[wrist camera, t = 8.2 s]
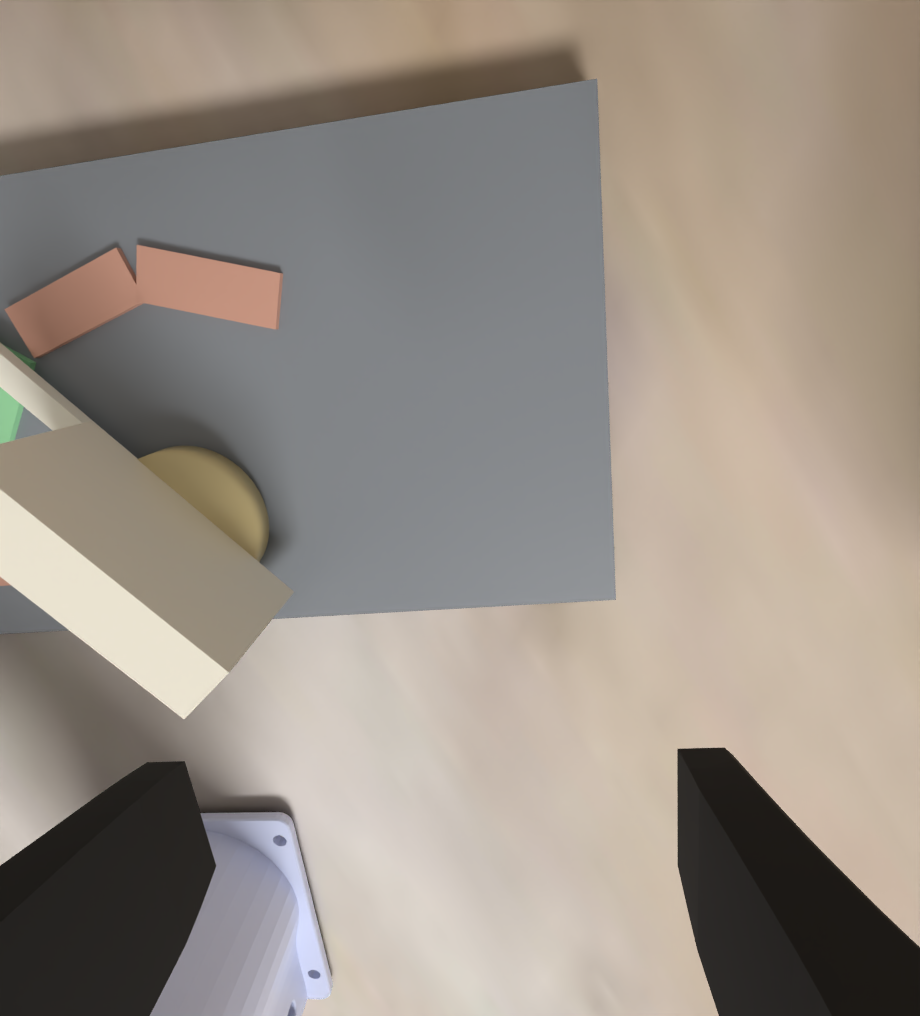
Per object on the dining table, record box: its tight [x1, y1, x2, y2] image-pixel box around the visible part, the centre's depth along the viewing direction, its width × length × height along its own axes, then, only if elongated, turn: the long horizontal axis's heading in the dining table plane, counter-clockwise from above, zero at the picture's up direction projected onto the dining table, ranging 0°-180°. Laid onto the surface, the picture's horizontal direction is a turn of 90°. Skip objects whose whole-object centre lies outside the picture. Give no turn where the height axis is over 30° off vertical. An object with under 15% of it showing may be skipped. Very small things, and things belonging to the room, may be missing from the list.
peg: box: [0, 343, 294, 719], centre depth 15 cm, size 12×4×5 cm, turn 47°
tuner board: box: [0, 79, 616, 634], centre depth 17 cm, size 13×24×1 cm, turn 96°
